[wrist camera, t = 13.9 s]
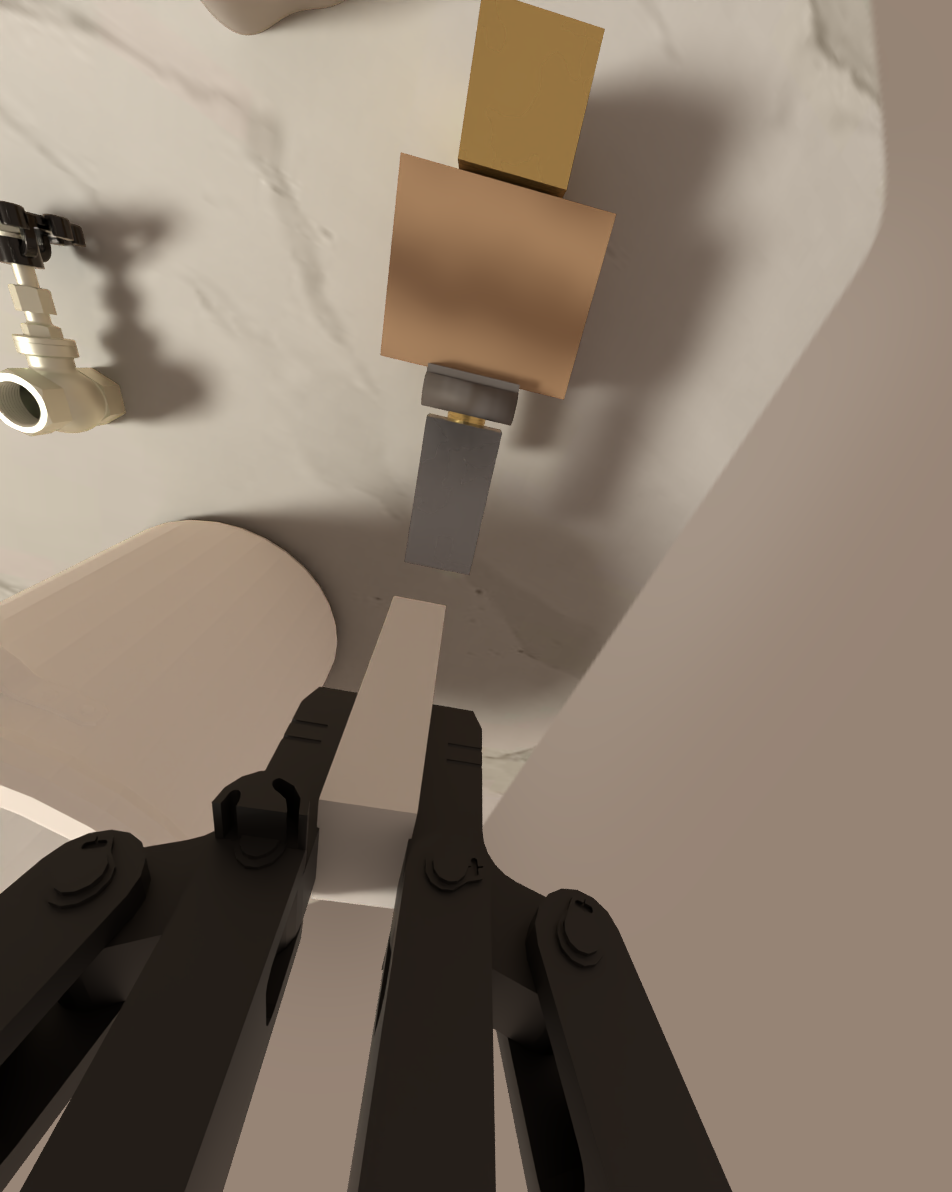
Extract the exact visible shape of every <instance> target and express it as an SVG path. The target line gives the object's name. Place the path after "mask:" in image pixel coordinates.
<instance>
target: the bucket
mask: <svg viewBox="0 0 952 1192" xmlns="http://www.w3.org/2000/svg"><path fill="white" fill-rule="evenodd" d="M336 648H337V634H336V625H335V620H334V617H333V614H332V610H331V607H330V604H329V602H328V600H327V598H326V597H325V595H324V593H323V591H322V589H321V587H320V586H319V584H318V583H317V582H316V581H315V579H314V578H313V577H312V576H311V574H310V573H309V572H308V571H307V569H306V568H305V567H304V566H303V565H301V564H300V563H299V562H298V561H297V560H296V559H295V558H294V557H292V556H291V555H290V554H289V553H288V552H287V551H285V550H284V549H282V548H280V547H279V546H277V545H276V544H274V543H273V542H271V541H269V540H268V539H266V538H264V537H262V536H260V535H257V534H255V533H253V532H250V531H248V530H246V529H244V528H240V527H236V526H232V525H228V524H224V523H221V522H212V521H199V520H183V521H175V522H166V523H163V524H161V525H158V526H155V527H152V528H149V529H146V530H144V531H142V532H140V533H138V534H136V535H134V536H132V537H130V538H128V539H126V540H124V541H122V542H120V543H118V544H116V545H114V546H112V547H110V548H108V549H106V550H104V551H102V552H100V553H98V554H96V555H94V556H92V557H90V558H88V559H86V560H84V561H82V562H80V563H78V564H76V565H74V566H72V567H70V568H68V569H66V570H64V571H62V572H60V573H58V574H56V575H54V576H52V577H50V578H48V579H46V580H44V581H42V582H40V583H37V584H35V585H33V586H31V587H29V588H27V589H25V590H23V591H21V592H19V593H17V594H15V595H13V596H11V597H9V598H7V599H5V600H3V601H1V602H0V894H1V893H2V892H3V891H4V890H5V889H7V888H8V887H9V886H10V885H11V884H12V883H14V882H15V881H16V880H17V879H18V878H20V877H21V876H22V875H23V874H24V873H25V872H27V871H28V870H29V869H30V868H31V867H33V866H34V865H35V864H36V863H37V862H38V861H40V860H41V859H42V858H44V857H45V856H46V855H48V854H49V853H51V852H52V851H54V850H55V849H57V848H58V847H60V846H61V845H63V844H64V843H66V842H69V841H71V840H73V839H76V838H78V837H81V836H83V835H86V834H88V833H92V832H99V831H105V830H118V831H123V832H129V833H131V834H132V835H134V836H135V837H136V838H137V839H139V840H140V841H141V842H142V844H143V847H148V846H154V845H160V844H166V843H172V842H178V841H184V840H189V839H193V838H197V837H201V836H204V835H206V834H209V833H211V832H213V831H214V821H213V811H212V801H213V800H214V799H215V798H216V797H217V795H218V794H219V793H220V792H221V791H222V790H223V788H224V787H226V786H227V785H229V784H231V783H232V782H234V781H235V780H237V779H239V778H240V777H242V776H245V775H248V774H252V773H255V772H258V771H265V770H266V768H267V766H268V764H269V762H270V760H271V758H272V756H273V754H274V753H275V751H276V749H277V747H278V745H279V743H280V741H281V739H283V737H284V734H285V732H286V730H287V728H288V726H289V724H290V723H291V722H292V718H293V716H294V715H295V713H296V711H297V709H298V707H299V705H300V703H301V701H302V700H303V699H305V698H306V697H307V696H308V695H310V694H311V693H312V692H313V691H315V690H316V689H317V688H318V687H322V686H323V684H324V682H325V680H326V678H327V676H328V674H329V672H330V670H331V667H332V665H333V663H334V660H335V655H336Z"/></svg>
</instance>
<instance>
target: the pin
mask: <svg viewBox="0 0 952 1192" xmlns="http://www.w3.org/2000/svg"><path fill="white" fill-rule="evenodd" d="M604 30H605V29H603V28H600V27H597V26H594V25H591V24H588V23H585V22H582V21H579V20H576V19H573V18H569V17H566V16H563V15H560V14H557V13H554V12H551V11H548V10H545V9H542V8H539V7H536V6H533V5H529V4H526V3H523V2H520V1H517V0H481V5H480V12H479V19H478V25H477V32H476V39H475V46H474V53H473V60H472V66H471V73H470V80H469V87H468V94H467V101H466V107H465V114H464V121H463V128H462V135H461V142H460V149H459V155H458V163H459V169H460V170H464V171H467V172H471V173H474V174H478V175H481V176H485V177H488V178H492V179H496V180H499V181H503V182H506V183H510V184H513V185H517V186H520V187H524V188H527V189H531V190H534V191H538V192H541V193H545V194H548V195H552V196H555V197H559V198H563V196H564V194H565V192H566V190H567V186H568V182H569V177H570V173H571V169H572V165H573V161H574V156H575V152H576V148H577V144H578V140H579V135H580V131H581V127H582V123H583V118H584V114H585V110H586V106H587V102H588V97H589V93H590V89H591V85H592V81H593V76H594V72H595V68H596V64H597V60H598V55H599V51H600V47H601V43H602V39H603V34H604ZM448 418H452V419H456V420H461V421H465V422H469V423H474V424H478V425H482V426H484V424H485V419H481V418H476V417H472V416H468V415H463V414H459V413H455V412H451V411H449V412H448Z"/></svg>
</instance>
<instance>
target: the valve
mask: <svg viewBox="0 0 952 1192" xmlns="http://www.w3.org/2000/svg"><path fill="white" fill-rule="evenodd" d="M63 239H65V240H68V241H71V242H72V245H75V246H81V247H86V244H85V240H84V236H83V231H82V228H81V227H80V226H78V225H75V224H71V223H70V222H69V220H68V219H66V218H64V217H60V216H56V215H51V214H43V216H42V215H37V214H33V213H29V212H25V210H24V208H23V207H22V206H20V205H17V204H14V203H10V202H5V201H0V262H1V263H6V264H10V265H11V266H12V269H13V272H14V275H15V279H16V282H17V285H15V284H9V285H8V288H9V291H10V294H11V297H12V300H13V303H14V306H15V310H19V311H24V313H25V316H26V320H27V321H26V323H21V324H20V325H21V328H22V331H23V335H22V334H12V338H13V340H14V344H15V347H16V350H17V352H18V353H21V354H24V355H25V356H26V359H27V362H28V365H29V368H7V369H5V370H3V371H1V372H0V419H1V420H2V421H3V422H5V423H6V424H8V425H10V426H11V427H13V428H15V429H17V430H19V431H20V432H22V433H25V434H27V435H29V436H36V435H43V434H49V433H53V432H54V431H58V432H64V433H80V432H85V431H88V430H90V429H92V428H94V427H95V426H99V425H105V424H108V423H110V422H112V421H113V420H115V419H117V418H119V417H120V416H122V415H124V414H125V413H126V412H125V407H124V403H123V399H122V395H121V391H120V387H119V385H118V384H117V383H115V382H113V381H112V380H110V379H109V378H107V377H106V376H104V375H102V374H101V373H99V372H98V371H96V370H95V369H93V368H76V365H75V362H74V358H79V353H78V349H77V346H76V342H75V340H71V339H64V338H63V334H62V331H61V328H59V327H56V326H54V325H53V324H52V322H51V318H50V315H49V314H52V315H57V313H56V309H55V306H54V302H53V299H52V295H51V292H50V291H49V290H47V289H42V288H40V287H39V283H38V280H37V276H36V273H35V269H45V267H44V264H43V262H47V261H48V260H49V259H50V257H51V245H50V244H54V245H61V246H64V245H65V244H64V240H63ZM34 268H35V269H34Z"/></svg>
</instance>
